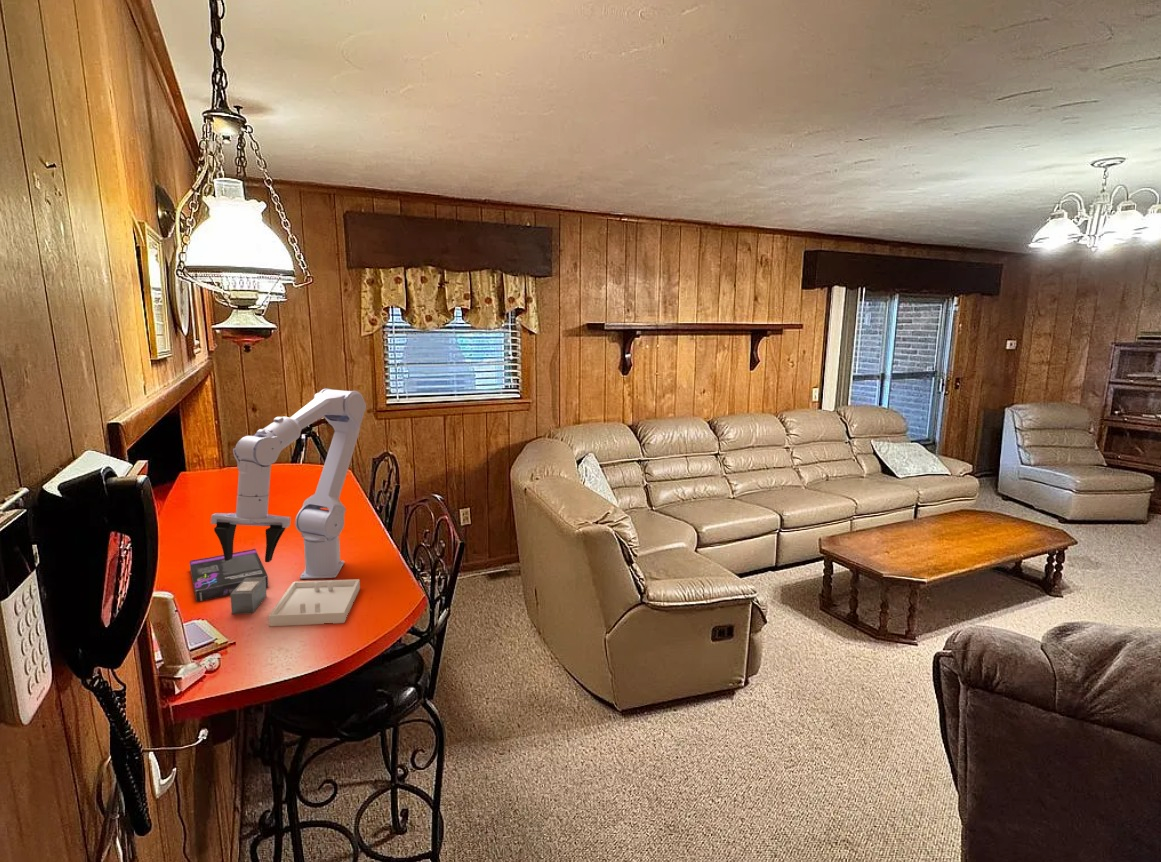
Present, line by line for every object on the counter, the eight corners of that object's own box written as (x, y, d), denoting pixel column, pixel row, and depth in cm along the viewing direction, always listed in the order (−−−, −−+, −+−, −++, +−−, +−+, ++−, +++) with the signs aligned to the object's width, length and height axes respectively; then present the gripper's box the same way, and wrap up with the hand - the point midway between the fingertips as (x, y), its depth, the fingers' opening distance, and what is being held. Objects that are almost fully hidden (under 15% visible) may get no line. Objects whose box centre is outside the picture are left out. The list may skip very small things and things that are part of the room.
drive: (246, 597, 130) (245, 577, 129) (266, 596, 131) (265, 576, 130) (231, 614, 122) (230, 593, 122) (253, 614, 123) (251, 592, 122)
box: (190, 574, 143) (195, 604, 127) (189, 560, 142) (193, 589, 126) (257, 561, 151) (269, 589, 135) (255, 548, 150) (267, 574, 134)
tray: (293, 590, 134) (293, 578, 133) (359, 588, 136) (359, 576, 135) (269, 626, 118) (268, 612, 118) (344, 622, 120) (343, 608, 120)
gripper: (206, 495, 118) (201, 563, 119) (284, 499, 121) (280, 566, 121) (221, 490, 125) (216, 554, 126) (295, 494, 128) (290, 558, 128)
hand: (248, 560), depth 124 cm, fingers open, 7 cm apart
